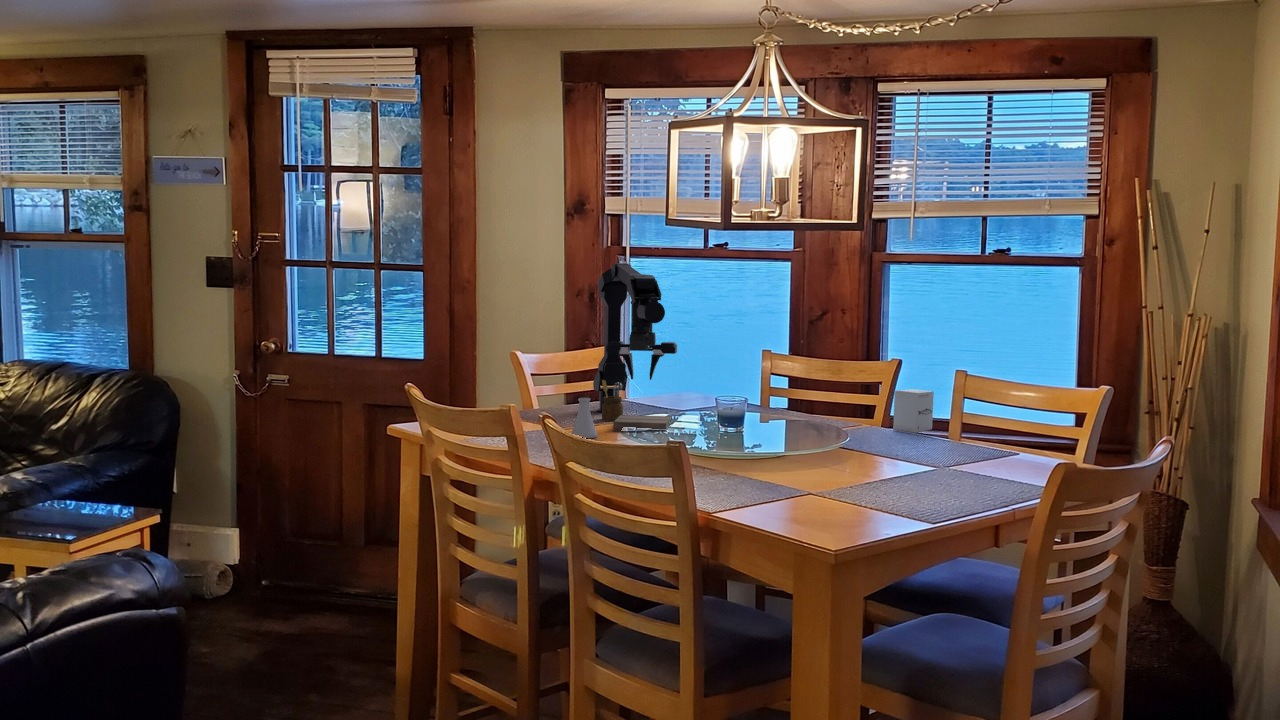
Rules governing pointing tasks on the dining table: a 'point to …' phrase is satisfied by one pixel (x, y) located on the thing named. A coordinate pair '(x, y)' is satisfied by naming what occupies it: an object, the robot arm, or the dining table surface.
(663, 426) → the walnut plinth
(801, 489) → the dining table surface
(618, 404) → the utensil holder
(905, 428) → the supplement box
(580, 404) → the flask
